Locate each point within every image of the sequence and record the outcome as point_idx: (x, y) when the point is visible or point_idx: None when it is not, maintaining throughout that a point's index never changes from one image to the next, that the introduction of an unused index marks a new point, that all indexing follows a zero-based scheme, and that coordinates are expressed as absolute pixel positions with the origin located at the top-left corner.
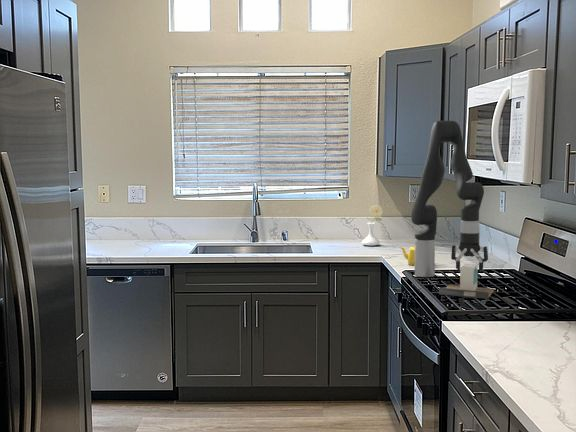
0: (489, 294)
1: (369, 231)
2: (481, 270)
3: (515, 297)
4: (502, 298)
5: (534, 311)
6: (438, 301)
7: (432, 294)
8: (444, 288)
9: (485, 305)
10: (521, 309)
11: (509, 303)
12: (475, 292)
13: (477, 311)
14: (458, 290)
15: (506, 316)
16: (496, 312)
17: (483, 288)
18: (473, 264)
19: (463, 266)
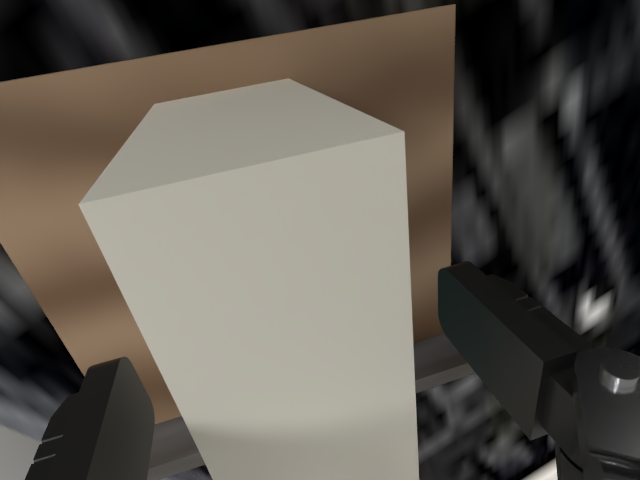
0: (440, 245)
1: None
2: (467, 263)
3: (585, 98)
4: (504, 183)
5: (635, 326)
6: (184, 473)
7: (20, 386)
8: (164, 477)
9: None
10: (588, 333)
11: (542, 271)
12: None
13: (420, 467)
14: None
15: (528, 445)
16: (491, 431)
17: (350, 55)
18: (319, 188)
19: (229, 458)
